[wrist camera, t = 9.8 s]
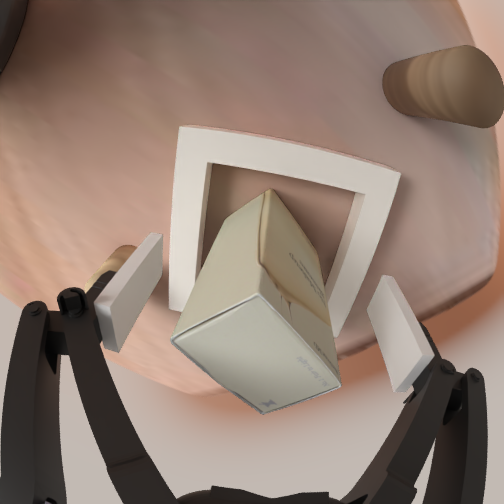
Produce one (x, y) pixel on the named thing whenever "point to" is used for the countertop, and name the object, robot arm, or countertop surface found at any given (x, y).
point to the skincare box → (261, 311)
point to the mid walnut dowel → (447, 87)
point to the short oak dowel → (112, 263)
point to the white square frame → (288, 164)
